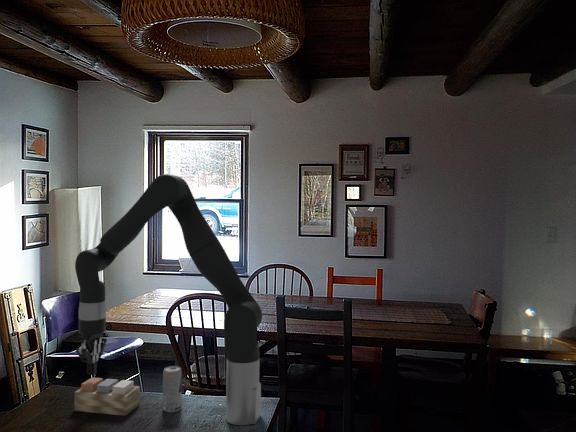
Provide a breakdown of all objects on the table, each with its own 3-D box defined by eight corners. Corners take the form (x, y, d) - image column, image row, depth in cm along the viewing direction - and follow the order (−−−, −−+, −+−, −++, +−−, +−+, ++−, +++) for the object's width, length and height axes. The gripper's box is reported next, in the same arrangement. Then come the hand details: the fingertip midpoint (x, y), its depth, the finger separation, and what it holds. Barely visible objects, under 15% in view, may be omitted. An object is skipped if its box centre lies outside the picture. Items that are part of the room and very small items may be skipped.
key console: (139, 404, 151) (139, 386, 151) (125, 415, 143) (126, 396, 143) (90, 399, 154) (90, 382, 154) (74, 410, 146) (74, 392, 146)
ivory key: (133, 390, 150) (133, 380, 150) (124, 397, 145) (124, 387, 145) (122, 389, 151) (122, 379, 151) (112, 396, 145) (112, 386, 145)
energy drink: (182, 405, 151) (183, 365, 151) (179, 412, 146) (179, 371, 145) (164, 405, 151) (165, 365, 151) (161, 412, 146) (161, 371, 145)
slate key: (118, 389, 151) (118, 379, 151) (108, 396, 146) (108, 386, 146) (107, 388, 152) (107, 378, 152) (96, 395, 146) (96, 385, 146)
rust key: (102, 388, 152) (102, 378, 152) (92, 395, 147) (92, 384, 146) (92, 387, 153) (92, 377, 153) (81, 394, 147) (81, 383, 147)
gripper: (91, 322, 142) (90, 383, 142) (115, 312, 155) (115, 368, 155) (67, 320, 143) (66, 381, 144) (93, 310, 156) (92, 366, 157)
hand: (91, 374), depth 150 cm, fingers closed
